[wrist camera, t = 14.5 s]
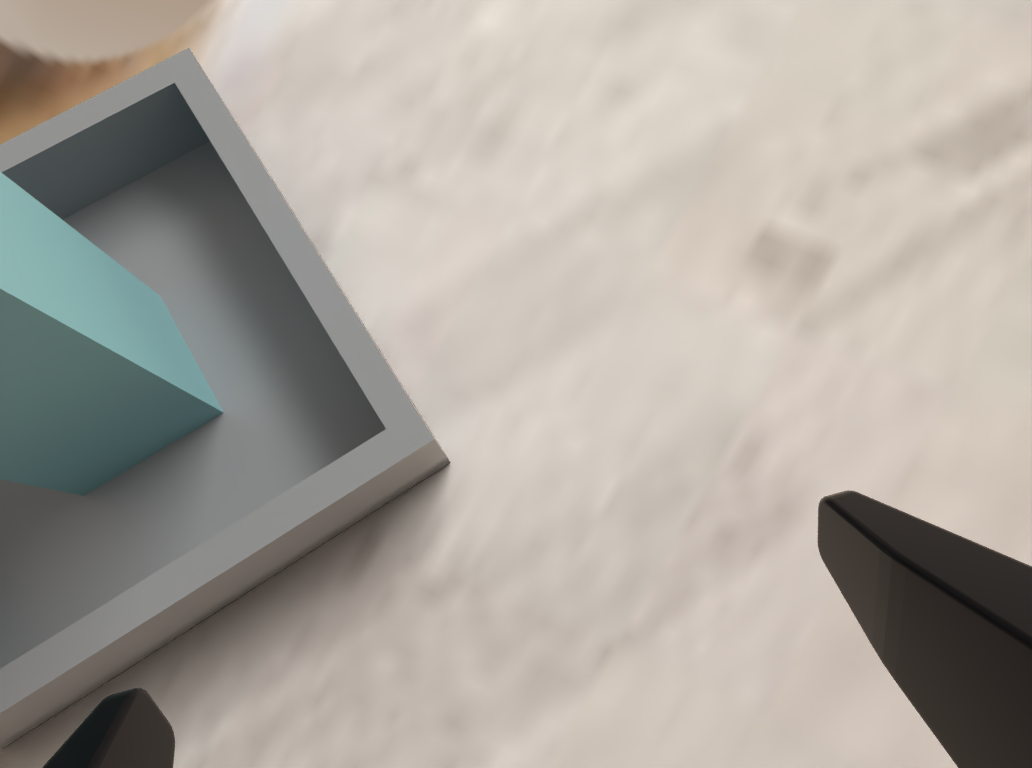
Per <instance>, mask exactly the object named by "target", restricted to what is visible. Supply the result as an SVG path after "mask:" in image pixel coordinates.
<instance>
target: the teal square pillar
mask: <svg viewBox="0 0 1032 768" xmlns="http://www.w3.org/2000/svg"><path fill="white" fill-rule="evenodd" d="M222 413H224V412H223V410H222V409H221V407H220V405H219V403H218V401H217V399H216V398H215V396H214V394H213V392H212V390H211V388H210V387H209V385H208V383H207V381H206V379H205V377H204V375H203V374H202V372H201V370H200V368H199V366H198V364H197V363H196V361H195V359H194V357H193V355H192V353H191V352H190V350H189V348H188V346H187V344H186V342H185V341H184V339H183V337H182V335H181V333H180V331H179V330H178V328H177V326H176V324H175V322H174V320H173V318H172V317H171V315H170V313H169V311H168V309H167V307H166V306H165V304H164V302H163V300H162V298H161V296H160V295H159V294H157V293H156V292H155V291H154V290H152V289H151V288H150V287H148V286H147V285H146V284H144V283H143V282H142V281H141V280H139V279H138V278H137V277H135V276H134V275H133V274H132V273H130V272H129V271H128V270H126V269H125V268H124V267H123V266H121V265H120V264H119V263H117V262H116V261H115V260H114V259H112V258H111V257H110V256H108V255H107V254H106V253H105V252H103V251H102V250H101V249H99V248H98V247H97V246H96V245H94V244H93V243H92V242H90V241H89V240H88V239H86V238H85V237H84V236H83V235H81V234H80V233H79V232H77V231H76V230H75V229H74V228H72V227H71V226H70V225H68V224H67V223H66V222H65V221H63V220H62V219H61V218H59V217H58V216H57V215H56V214H54V213H53V212H52V211H50V210H49V209H48V208H47V207H45V206H44V205H43V204H41V203H40V202H39V201H37V200H36V199H35V198H34V197H32V196H31V195H30V194H28V193H27V192H26V191H25V190H23V189H22V188H21V187H19V186H18V185H17V184H16V183H14V182H13V181H12V180H10V179H9V178H8V177H7V176H5V175H4V174H3V173H1V172H0V479H1V480H6V481H11V482H16V483H21V484H26V485H31V486H36V487H42V488H47V489H52V490H57V491H62V492H67V493H72V494H77V495H82V496H84V495H86V494H88V493H90V492H91V491H93V490H95V489H96V488H98V487H100V486H101V485H103V484H105V483H106V482H108V481H110V480H111V479H113V478H115V477H116V476H118V475H120V474H121V473H123V472H125V471H126V470H128V469H130V468H131V467H133V466H135V465H137V464H138V463H140V462H142V461H143V460H145V459H147V458H148V457H150V456H152V455H153V454H155V453H157V452H158V451H160V450H162V449H163V448H165V447H167V446H168V445H170V444H172V443H173V442H175V441H177V440H178V439H180V438H182V437H184V436H185V435H187V434H189V433H190V432H192V431H194V430H195V429H197V428H199V427H200V426H202V425H204V424H205V423H207V422H209V421H210V420H212V419H214V418H215V417H217V416H219V415H220V414H222Z"/></svg>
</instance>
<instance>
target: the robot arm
mask: <svg viewBox="0 0 1032 768" xmlns="http://www.w3.org/2000/svg"><path fill="white" fill-rule="evenodd" d="M818 548H819V552H820V555H821V557H822V560H823V562H824V563H825V565H826V567H827V569H828V570H829V572H830V574H831V576H832V577H833V579H834V581H835V582H836V584H837V586H838V588H839V589H840V591H841V593H842V595H843V596H844V598H845V600H846V601H847V603H848V605H849V607H850V608H851V610H852V612H853V614H854V615H855V617H856V619H857V620H858V622H859V624H860V626H861V627H862V629H863V631H864V633H865V634H866V636H867V638H868V639H869V641H870V643H871V645H872V646H873V648H874V650H875V651H876V653H877V654H878V656H879V658H880V659H881V661H882V663H883V664H884V665H885V667H886V668H887V670H888V671H889V673H890V674H891V676H892V677H893V678H894V680H895V681H896V683H897V684H898V685H899V687H900V688H901V690H902V691H903V692H904V694H905V695H906V696H907V698H908V699H909V701H910V702H911V703H912V705H913V706H914V707H915V709H916V710H917V712H918V713H919V714H920V716H921V717H922V718H923V720H924V721H925V723H926V724H927V725H928V727H929V728H930V729H931V731H932V732H933V734H934V735H935V736H936V738H937V739H938V740H939V742H940V743H941V745H942V746H943V747H944V749H945V750H946V751H947V753H948V754H949V756H950V757H951V758H952V760H953V761H954V762H955V764H956V765H957V767H958V768H1032V566H1029V565H1027V564H1025V563H1022V562H1020V561H1018V560H1015V559H1013V558H1011V557H1008V556H1006V555H1003V554H1001V553H999V552H996V551H994V550H992V549H989V548H987V547H985V546H982V545H980V544H978V543H975V542H973V541H971V540H968V539H966V538H964V537H961V536H959V535H956V534H954V533H952V532H949V531H947V530H945V529H942V528H940V527H938V526H935V525H933V524H931V523H928V522H926V521H924V520H921V519H919V518H917V517H914V516H912V515H909V514H907V513H905V512H902V511H900V510H898V509H895V508H893V507H891V506H888V505H886V504H884V503H881V502H879V501H877V500H874V499H872V498H869V497H867V496H865V495H862V494H860V493H858V492H855V491H844V492H840V493H836V494H833V495H829V496H826V497H824V498H822V499H821V500H820V503H819V507H818ZM174 751H175V737H174V732H173V729H172V727H171V725H170V723H169V722H168V720H167V719H166V717H165V716H164V715H163V713H162V712H161V711H160V709H159V708H158V706H157V705H156V704H155V702H154V701H153V699H152V698H151V697H150V695H149V694H148V693H147V692H146V691H145V690H143V689H141V688H135V689H131V690H128V691H124V692H121V693H117V694H114V695H111V696H109V697H107V698H105V699H104V700H103V701H102V702H101V703H100V704H99V705H98V706H97V707H96V708H95V709H94V711H93V712H92V713H91V714H90V715H89V716H88V717H87V718H86V719H85V721H84V722H83V723H82V724H81V725H80V726H79V727H78V728H77V730H76V731H75V732H74V733H73V734H72V735H71V736H70V737H69V738H68V740H67V741H66V742H65V743H64V744H63V745H62V746H61V747H60V749H59V750H58V751H57V752H56V753H55V754H54V755H53V756H52V757H51V759H50V760H49V761H48V762H47V763H46V764H45V765H44V766H43V768H173V762H174Z"/></svg>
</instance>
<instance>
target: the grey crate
mask: <svg viewBox="0 0 1032 768" xmlns="http://www.w3.org/2000/svg"><path fill="white" fill-rule="evenodd" d="M0 172H1V173H3V174H4V175H5V176H7V177H8V178H9V179H10V180H12V181H13V182H14V183H16V184H17V185H18V186H19V187H21V188H22V189H23V190H25V191H26V192H27V193H28V194H30V195H31V196H32V197H34V198H35V199H36V200H37V201H39V202H40V203H41V204H43V205H44V206H45V207H47V208H48V209H49V210H50V211H52V212H53V213H54V214H56V215H57V216H58V217H59V218H61V219H62V220H63V221H65V222H66V223H67V224H68V225H70V226H71V227H72V228H74V229H75V230H76V231H77V232H79V233H80V234H81V235H83V236H84V237H85V238H86V239H88V240H89V241H90V242H92V243H93V244H94V245H96V246H97V247H98V248H99V249H101V250H102V251H103V252H105V253H106V254H107V255H108V256H110V257H111V258H112V259H114V260H115V261H116V262H117V263H119V264H120V265H121V266H123V267H124V268H125V269H126V270H128V271H129V272H130V273H132V274H133V275H134V276H135V277H137V278H138V279H139V280H141V281H142V282H143V283H144V284H146V285H147V286H148V287H150V288H151V289H152V290H154V291H155V292H156V293H157V294H159V295H160V296H161V298H162V300H163V302H164V304H165V306H166V307H167V309H168V311H169V313H170V315H171V317H172V318H173V320H174V322H175V324H176V326H177V328H178V330H179V331H180V333H181V335H182V337H183V339H184V341H185V342H186V344H187V346H188V348H189V350H190V352H191V353H192V355H193V357H194V359H195V361H196V363H197V364H198V366H199V368H200V370H201V372H202V374H203V375H204V377H205V379H206V381H207V383H208V385H209V387H210V388H211V390H212V392H213V394H214V396H215V398H216V399H217V401H218V403H219V405H220V407H221V409H222V410H223V412H224V413H222V414H220V415H219V416H217V417H215V418H214V419H212V420H210V421H209V422H207V423H205V424H204V425H202V426H200V427H199V428H197V429H195V430H194V431H192V432H190V433H189V434H187V435H185V436H184V437H182V438H180V439H178V440H177V441H175V442H173V443H172V444H170V445H168V446H167V447H165V448H163V449H162V450H160V451H158V452H157V453H155V454H153V455H152V456H150V457H148V458H147V459H145V460H143V461H142V462H140V463H138V464H137V465H135V466H133V467H131V468H130V469H128V470H126V471H125V472H123V473H121V474H120V475H118V476H116V477H115V478H113V479H111V480H110V481H108V482H106V483H105V484H103V485H101V486H100V487H98V488H96V489H95V490H93V491H91V492H90V493H88V494H86V495H84V496H82V495H77V494H72V493H67V492H62V491H57V490H52V489H47V488H42V487H36V486H31V485H26V484H21V483H16V482H11V481H6V480H1V479H0V749H2V748H5V747H6V746H8V745H9V744H11V743H13V742H14V741H16V740H17V739H19V738H20V737H22V736H23V735H25V734H27V733H28V732H30V731H31V730H33V729H34V728H36V727H38V726H39V725H41V724H42V723H44V722H45V721H47V720H49V719H50V718H52V717H53V716H55V715H56V714H58V713H60V712H61V711H63V710H64V709H66V708H67V707H69V706H70V705H72V704H74V703H75V702H77V701H78V700H80V699H81V698H83V697H85V696H86V695H88V694H89V693H91V692H92V691H94V690H96V689H97V688H99V687H100V686H102V685H103V684H105V683H106V682H108V681H110V680H111V679H113V678H114V677H116V676H117V675H119V674H121V673H122V672H124V671H125V670H127V669H128V668H130V667H132V666H133V665H135V664H136V663H138V662H139V661H141V660H142V659H144V658H146V657H147V656H149V655H150V654H152V653H153V652H155V651H157V650H158V649H160V648H161V647H163V646H164V645H166V644H168V643H169V642H171V641H172V640H174V639H175V638H177V637H179V636H180V635H182V634H183V633H185V632H186V631H188V630H189V629H191V628H193V627H194V626H196V625H197V624H199V623H200V622H202V621H204V620H205V619H207V618H208V617H210V616H211V615H213V614H215V613H216V612H218V611H219V610H221V609H222V608H224V607H225V606H227V605H229V604H230V603H232V602H233V601H235V600H236V599H238V598H240V597H241V596H243V595H244V594H246V593H247V592H249V591H251V590H252V589H254V588H255V587H257V586H258V585H260V584H261V583H263V582H265V581H266V580H268V579H269V578H271V577H272V576H274V575H276V574H277V573H279V572H280V571H282V570H283V569H285V568H287V567H288V566H290V565H291V564H293V563H294V562H296V561H297V560H299V559H301V558H302V557H304V556H305V555H307V554H308V553H310V552H312V551H313V550H315V549H316V548H318V547H319V546H321V545H323V544H324V543H326V542H327V541H329V540H330V539H332V538H334V537H335V536H337V535H338V534H340V533H341V532H343V531H344V530H346V529H348V528H349V527H351V526H352V525H354V524H355V523H357V522H359V521H360V520H362V519H363V518H365V517H366V516H368V515H370V514H371V513H373V512H374V511H376V510H377V509H379V508H380V507H382V506H384V505H385V504H387V503H388V502H390V501H391V500H393V499H395V498H396V497H398V496H399V495H401V494H402V493H404V492H406V491H407V490H409V489H410V488H412V487H413V486H415V485H416V484H418V483H420V482H421V481H423V480H424V479H426V478H427V477H429V476H431V475H432V474H434V473H435V472H437V471H438V470H440V469H442V468H443V467H445V466H446V465H448V464H449V463H450V461H449V460H448V458H447V457H446V455H445V453H444V452H443V450H442V449H441V447H440V445H439V444H438V442H437V441H436V439H435V437H434V436H433V434H432V433H431V431H430V429H429V428H428V426H427V425H426V423H425V422H424V420H423V418H422V417H421V415H420V414H419V412H418V410H417V409H416V407H415V406H414V404H413V402H412V401H411V399H410V398H409V396H408V394H407V393H406V391H405V390H404V388H403V387H402V385H401V383H400V382H399V380H398V379H397V377H396V375H395V374H394V372H393V371H392V369H391V367H390V366H389V364H388V363H387V361H386V359H385V358H384V356H383V355H382V353H381V352H380V350H379V348H378V347H377V345H376V344H375V342H374V340H373V339H372V337H371V336H370V334H369V332H368V331H367V329H366V328H365V326H364V324H363V323H362V321H361V320H360V318H359V316H358V315H357V313H356V312H355V310H354V309H353V307H352V305H351V304H350V302H349V301H348V299H347V297H346V296H345V294H344V293H343V291H342V289H341V288H340V286H339V285H338V283H337V281H336V280H335V278H334V277H333V275H332V274H331V272H330V270H329V269H328V267H327V266H326V264H325V262H324V261H323V259H322V258H321V256H320V254H319V253H318V251H317V250H316V248H315V246H314V245H313V243H312V242H311V240H310V239H309V237H308V235H307V234H306V232H305V231H304V229H303V227H302V226H301V224H300V223H299V221H298V219H297V218H296V216H295V215H294V213H293V211H292V210H291V208H290V207H289V205H288V203H287V202H286V200H285V199H284V197H283V196H282V194H281V192H280V191H279V189H278V188H277V186H276V184H275V183H274V181H273V180H272V178H271V176H270V175H269V173H268V172H267V170H266V168H265V167H264V165H263V164H262V162H261V161H260V159H259V157H258V156H257V154H256V153H255V151H254V149H253V148H252V146H251V145H250V143H249V141H248V140H247V138H246V137H245V135H244V133H243V132H242V130H241V129H240V127H239V126H238V124H237V122H236V121H235V119H234V118H233V116H232V115H231V113H230V111H229V110H228V108H227V107H226V105H225V104H224V102H223V100H222V99H221V97H220V96H219V94H218V93H217V91H216V89H215V88H214V86H213V85H212V83H211V82H210V80H209V78H208V77H207V75H206V74H205V72H204V71H203V69H202V68H201V66H200V64H199V63H198V61H197V60H196V58H195V57H194V55H193V53H192V52H191V50H190V49H189V48H187V49H186V50H184V51H182V52H180V53H178V54H176V55H174V56H172V57H170V58H168V59H166V60H164V61H162V62H160V63H158V64H156V65H154V66H152V67H150V68H149V69H147V70H145V71H143V72H141V73H139V74H137V75H135V76H133V77H131V78H129V79H127V80H125V81H123V82H121V83H119V84H117V85H115V86H114V87H112V88H110V89H108V90H106V91H104V92H102V93H100V94H98V95H96V96H94V97H92V98H90V99H88V100H86V101H84V102H82V103H80V104H78V105H77V106H75V107H73V108H71V109H69V110H67V111H65V112H63V113H61V114H59V115H57V116H55V117H53V118H51V119H49V120H47V121H45V122H43V123H42V124H40V125H38V126H36V127H34V128H32V129H30V130H28V131H26V132H24V133H22V134H20V135H18V136H16V137H14V138H12V139H10V140H8V141H6V142H5V143H3V144H1V145H0Z"/></svg>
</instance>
